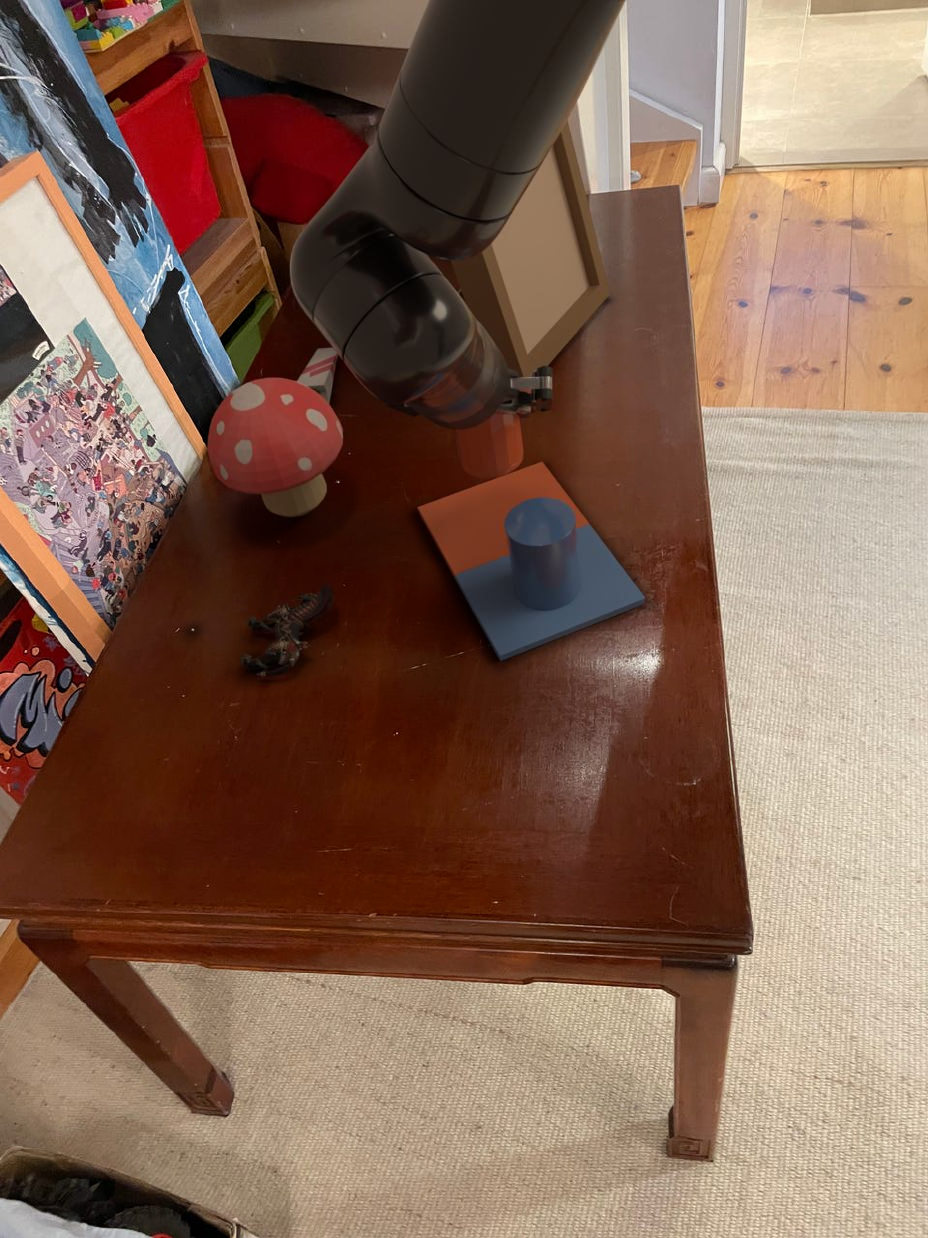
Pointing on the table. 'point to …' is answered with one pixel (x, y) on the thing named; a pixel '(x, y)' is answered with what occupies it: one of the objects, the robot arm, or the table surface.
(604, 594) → the board
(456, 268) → the photo frame
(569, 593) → the blue cylinder
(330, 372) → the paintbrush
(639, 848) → the table surface
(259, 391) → the decorative mushroom
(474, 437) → the red cup
